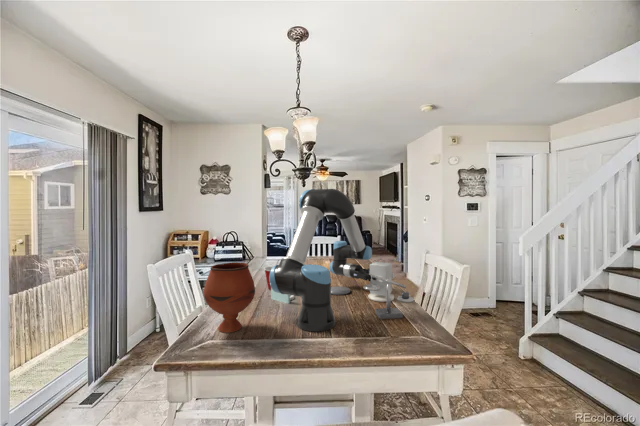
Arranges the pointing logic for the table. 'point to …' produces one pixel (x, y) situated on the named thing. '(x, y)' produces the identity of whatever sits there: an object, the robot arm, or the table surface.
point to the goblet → (229, 292)
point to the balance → (389, 299)
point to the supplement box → (381, 270)
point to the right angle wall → (281, 297)
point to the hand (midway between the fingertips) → (388, 277)
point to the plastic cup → (267, 272)
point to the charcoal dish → (339, 290)
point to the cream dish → (379, 297)
